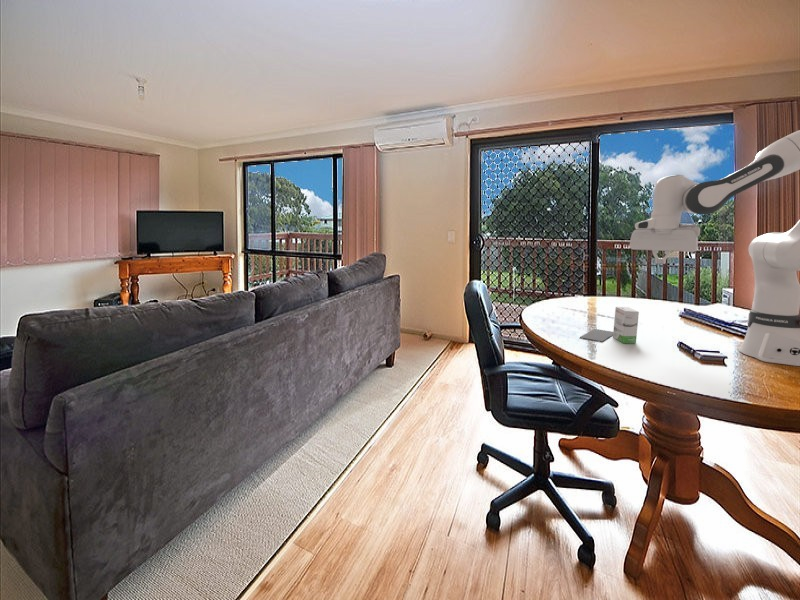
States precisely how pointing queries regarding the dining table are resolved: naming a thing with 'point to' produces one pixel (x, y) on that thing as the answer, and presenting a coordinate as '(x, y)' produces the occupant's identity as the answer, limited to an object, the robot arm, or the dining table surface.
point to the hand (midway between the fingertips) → (660, 263)
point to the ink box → (625, 324)
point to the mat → (597, 335)
